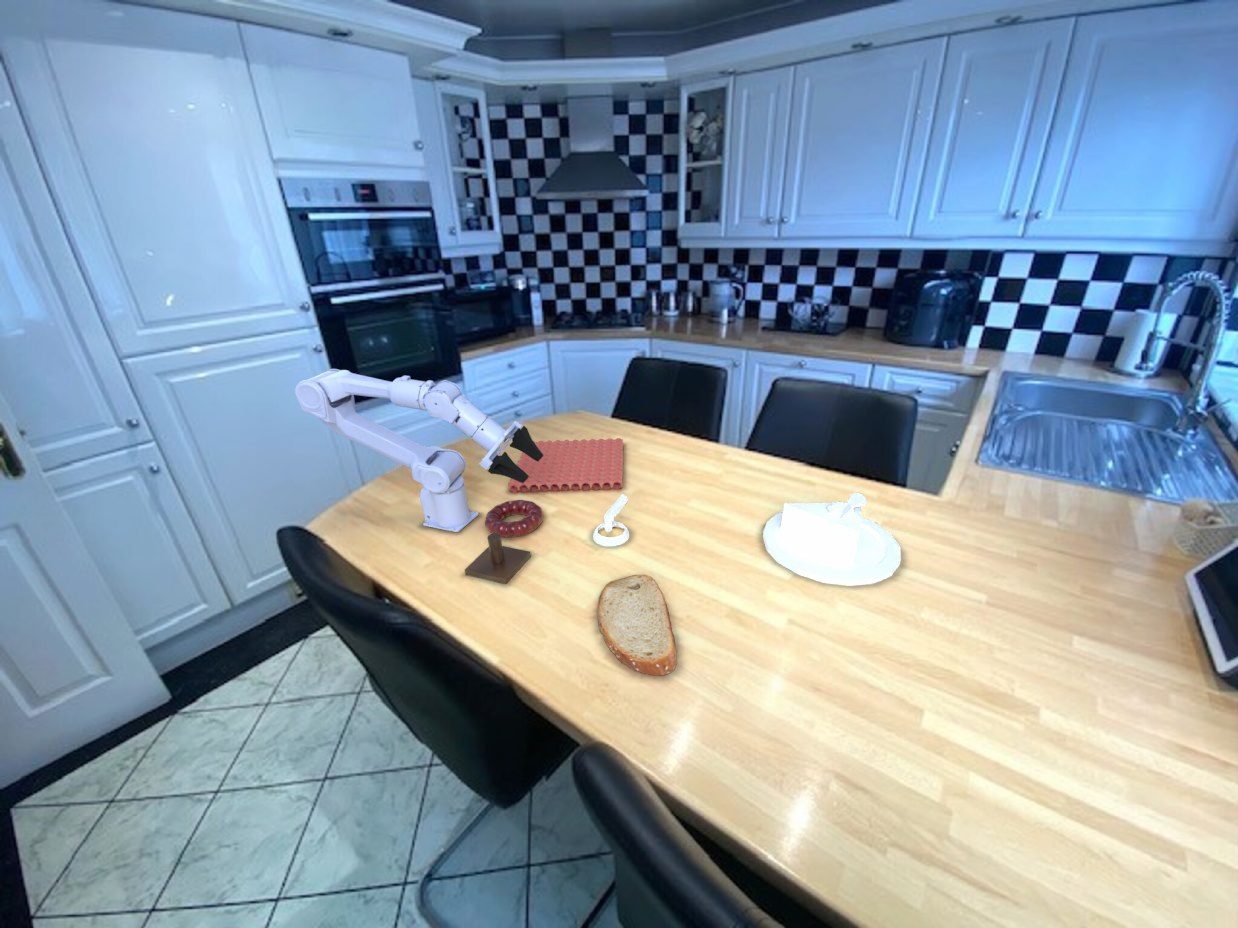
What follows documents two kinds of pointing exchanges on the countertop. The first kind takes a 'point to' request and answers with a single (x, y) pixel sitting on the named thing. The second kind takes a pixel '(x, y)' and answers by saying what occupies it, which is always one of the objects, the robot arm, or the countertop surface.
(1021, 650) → the countertop surface
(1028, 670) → the countertop surface
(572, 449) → the egg carton
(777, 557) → the dish
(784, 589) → the countertop surface
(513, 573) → the post
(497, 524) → the ring
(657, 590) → the bread slice
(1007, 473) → the countertop surface
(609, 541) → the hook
